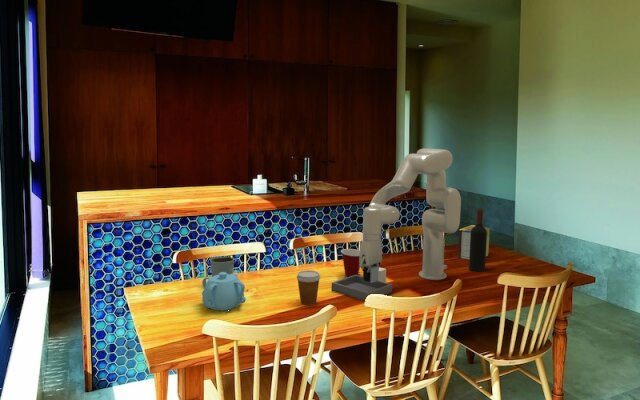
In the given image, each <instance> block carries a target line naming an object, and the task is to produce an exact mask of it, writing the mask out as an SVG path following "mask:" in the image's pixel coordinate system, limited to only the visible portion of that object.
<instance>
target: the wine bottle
mask: <svg viewBox="0 0 640 400" xmlns="http://www.w3.org/2000/svg"><path fill="white" fill-rule="evenodd" d="M483 218H484V209H483V208H477V209H476V220H475V221H476V222H475V223H476V224H475V227H473V228H472V229H471V236H470V256H469V260H468V270H469V271H470V272H472V273H473V272H475V273H483V272H485V271H486V260H487V256H486V243H487V230H486V229H485V228H484V227H485V226H483V221H484V219H483Z"/></svg>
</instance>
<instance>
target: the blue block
mask: <svg viewBox="0 0 640 400" xmlns="http://www.w3.org/2000/svg"><path fill="white" fill-rule="evenodd" d="M379 267H380V266H379ZM379 267H378V266H373V265H370V271H369V272H370V283H373V282H376V281H378V268H379ZM366 268H367V266H366ZM363 281H364V280H363ZM366 282H367V281H366Z"/></svg>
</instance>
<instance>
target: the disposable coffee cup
mask: <svg viewBox="0 0 640 400" xmlns="http://www.w3.org/2000/svg"><path fill="white" fill-rule="evenodd" d="M320 279H321V274H320V273H319V271H315V270H301V271H299V272H298V273H297V275H296V280H297V285H298V293H299V300H300V304H301V305H303V306H315V305H316V303H317V302H318V301H317V300H318V299H317V298H318V292H319V283H320Z"/></svg>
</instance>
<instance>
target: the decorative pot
mask: <svg viewBox="0 0 640 400" xmlns="http://www.w3.org/2000/svg"><path fill="white" fill-rule="evenodd" d="M201 284H202V287H203V291H202V292H201V295H202V299H201V302H202V303H203V305H204V306H205V307H206V308H208V309H209V308H210V310H216V311H222V312H225V311H226V312H229V311H230V310H232V309H234V308H237V307H238V306H240V305H241V304H244V303H245V302H246V300H247V298H246V296H245V289H246V288H245V284H244V283H243V282H242V281H241V280H240V279H239V277H238V275H237V274H236V273H233V274H227V273H226V272H221V273H219V275H215V276H213V277H212V276H206V277H204V278H203V279H202V283H201ZM228 310H229V311H228Z"/></svg>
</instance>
